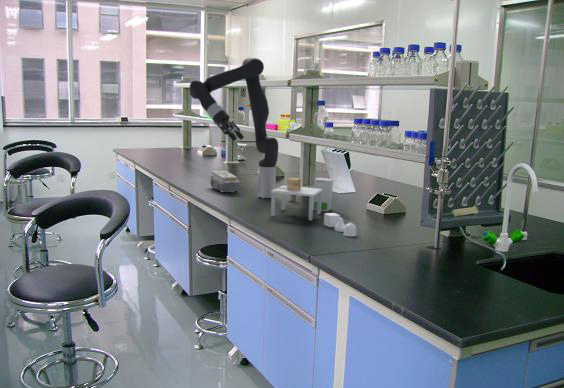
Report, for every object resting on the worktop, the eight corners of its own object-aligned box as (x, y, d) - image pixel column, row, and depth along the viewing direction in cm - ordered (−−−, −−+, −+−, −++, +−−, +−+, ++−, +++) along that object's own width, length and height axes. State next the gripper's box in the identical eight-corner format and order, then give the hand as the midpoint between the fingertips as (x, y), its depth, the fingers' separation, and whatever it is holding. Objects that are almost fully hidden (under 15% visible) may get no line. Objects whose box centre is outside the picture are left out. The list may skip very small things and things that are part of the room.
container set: (323, 225, 221) (324, 213, 220) (333, 224, 223) (334, 212, 222) (347, 237, 203) (348, 224, 202) (358, 236, 205) (359, 223, 204)
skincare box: (312, 210, 250) (313, 179, 248) (315, 207, 257) (317, 177, 254) (328, 211, 248) (330, 180, 245) (331, 209, 254) (333, 178, 251)
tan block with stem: (289, 202, 242) (290, 177, 240) (301, 203, 240) (302, 178, 238) (285, 204, 237) (286, 179, 235) (297, 205, 235) (298, 180, 233)
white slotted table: (282, 209, 250) (282, 185, 248) (321, 213, 243) (322, 189, 241) (270, 215, 235) (271, 190, 233) (311, 220, 228) (313, 194, 226)
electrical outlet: (224, 184, 312) (224, 168, 309) (242, 196, 287) (243, 178, 285) (206, 185, 306) (206, 169, 304) (223, 197, 282) (223, 179, 280)
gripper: (216, 109, 240) (237, 134, 238) (229, 109, 253) (249, 133, 251) (206, 120, 242) (227, 145, 241) (219, 119, 255) (239, 143, 254)
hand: (238, 139), depth 246 cm, fingers open, 8 cm apart
